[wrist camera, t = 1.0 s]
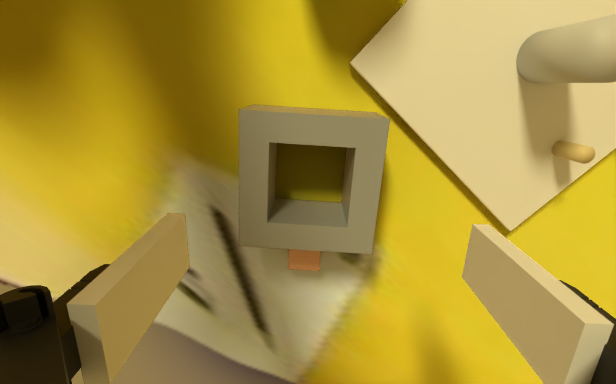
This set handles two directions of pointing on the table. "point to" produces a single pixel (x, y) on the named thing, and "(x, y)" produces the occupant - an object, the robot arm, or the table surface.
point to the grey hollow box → (304, 213)
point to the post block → (502, 91)
